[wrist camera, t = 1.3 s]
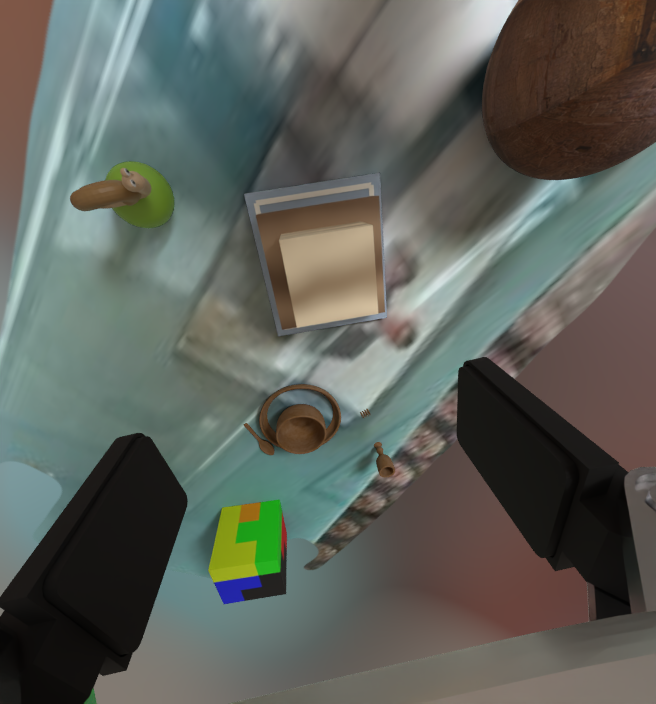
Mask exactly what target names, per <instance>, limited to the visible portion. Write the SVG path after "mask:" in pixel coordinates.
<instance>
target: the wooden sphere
mask: <svg viewBox="0 0 656 704" xmlns="http://www.w3.org/2000/svg"><path fill="white" fill-rule="evenodd" d="M482 115H483V122H484V127H485V131H486V134H487V137H488V140H489V142H490V144H491V146H492V148H493V150H494V151H495V152H496V154H497V155H498V156H499V158H500V159H501V160H502V161H503V162H504V163H505V164H507V165H508V166H509V167H511V168H512V169H514V170H515V171H517V172H519V173H521V174H524V175H526V176H530V177H533V178H538V179H545V180H564V179H573V178H578V177H583V176H587V175H590V174H594V173H597V172H600V171H603V170H605V169H608V168H610V167H613V166H615V165H617V164H619V163H621V162H623V161H625V160H627V159H629V158H631V157H633V156H634V155H636V154H638V153H639V152H641V151H643V150H644V149H646V148H647V147H649V146H650V145H652V144H653V143H655V142H656V0H518V2H517V3H516V5H515V6H514V8H513V10H512V11H511V13H510V15H509V17H508V18H507V20H506V22H505V24H504V26H503V28H502V30H501V32H500V34H499V36H498V39H497V41H496V43H495V46H494V48H493V51H492V54H491V57H490V60H489V63H488V67H487V70H486V75H485V80H484V86H483V94H482Z"/></svg>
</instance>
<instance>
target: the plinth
mask: <svg viewBox="0 0 656 704" xmlns="http://www.w3.org/2000/svg"><path fill="white" fill-rule="evenodd" d="M256 219H257V223H258V228H259V232H260V236H261V241H262V245H263V249H264V254H265V258H266V262H267V267H268V271H269V275H270V280H271V284H272V288H273V293H274V297H275V301H276V306H277V310H278V314H279V319H280V323H281V327H282V330H284V329H290V328H296V327H297V328H298V327H304V326H310V325H316V324H322V323H327V322H333V321H339V320H345V319H351V318H356V317H362V316H368V315H374V314H378V313H383V312H385V301H384V282H383V262H382V242H381V222H380V202H379V196H368V197H362V198H355V199H349V200H343V201H336V202H330V203H324V204H318V205H311V206H305V207H299V208H292V209H286V210H280V211H273V212H267V213H261V214H257V215H256Z"/></svg>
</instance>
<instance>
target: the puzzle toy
mask: <svg viewBox="0 0 656 704" xmlns="http://www.w3.org/2000/svg"><path fill="white" fill-rule="evenodd" d="M286 547H287V532H286V528H285V523H284V518H283V514H282V509H281V504H280V500H274V501H267V502H259V503H252V504H245V505H238V506H231V507H224V508H222V511H221V516H220V520H219V525H218V529H217V534H216V538H215V543H214V547H213V552H212V556H211V561H210V565H209V570H208V571H209V573H210V575H211V577H212V580H213V582H214V584H215V586H216V588H217V590H218V592H219V595H220V597H221V599H222V601H223V603H224V604H228V603H234V602H240V601H246V600H252V599H258V598H264V597H270V596H277V595H283V594H286V554H287V553H286V552H287V548H286Z"/></svg>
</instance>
